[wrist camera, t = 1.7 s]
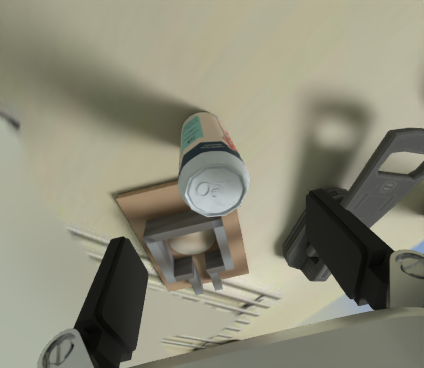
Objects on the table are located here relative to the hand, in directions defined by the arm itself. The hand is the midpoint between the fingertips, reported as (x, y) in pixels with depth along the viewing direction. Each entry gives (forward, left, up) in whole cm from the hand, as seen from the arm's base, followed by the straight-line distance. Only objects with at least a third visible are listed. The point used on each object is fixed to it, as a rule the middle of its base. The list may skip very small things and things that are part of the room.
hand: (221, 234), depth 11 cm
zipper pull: (+14, +16, -15) cm, 26 cm away
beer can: (-1, 0, -15) cm, 15 cm away
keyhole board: (+14, -5, -15) cm, 21 cm away
